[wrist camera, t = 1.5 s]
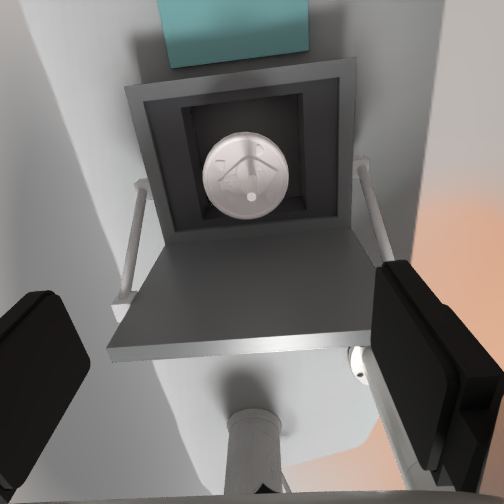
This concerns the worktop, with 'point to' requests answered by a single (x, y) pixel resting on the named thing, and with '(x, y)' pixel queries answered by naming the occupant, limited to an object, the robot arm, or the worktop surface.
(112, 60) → the worktop surface
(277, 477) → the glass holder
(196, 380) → the worktop surface
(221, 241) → the case
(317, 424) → the worktop surface
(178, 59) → the mat
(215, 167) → the smoothie
